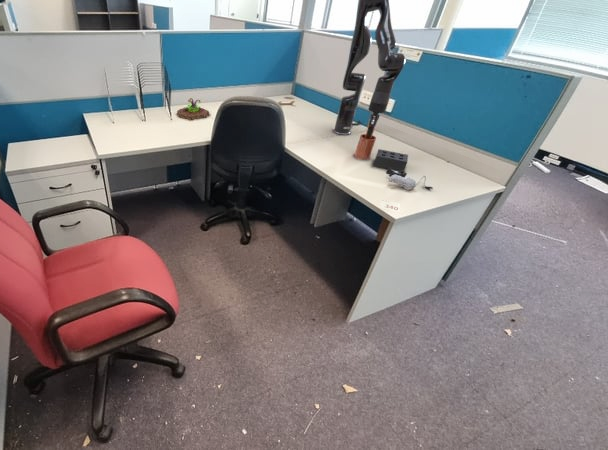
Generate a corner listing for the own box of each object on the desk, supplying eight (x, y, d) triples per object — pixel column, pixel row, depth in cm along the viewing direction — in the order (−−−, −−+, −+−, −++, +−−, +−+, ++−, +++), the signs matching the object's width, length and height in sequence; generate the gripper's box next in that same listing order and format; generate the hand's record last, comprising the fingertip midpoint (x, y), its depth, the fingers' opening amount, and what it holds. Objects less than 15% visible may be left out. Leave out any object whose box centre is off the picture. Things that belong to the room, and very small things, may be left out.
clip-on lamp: (421, 188, 151) (383, 174, 152) (430, 176, 147) (390, 162, 149) (429, 199, 141) (388, 184, 142) (438, 186, 137) (396, 171, 139)
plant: (171, 114, 222) (171, 97, 216) (193, 108, 233) (193, 92, 227) (191, 121, 211) (190, 103, 204) (213, 115, 221) (213, 98, 215)
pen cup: (355, 153, 175) (361, 133, 168) (370, 156, 172) (376, 135, 165) (353, 158, 169) (359, 137, 163) (368, 161, 167) (375, 140, 160)
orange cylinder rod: (362, 146, 169) (369, 122, 162) (368, 147, 168) (376, 123, 161) (361, 148, 167) (368, 124, 160) (367, 149, 166) (375, 125, 159)
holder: (374, 160, 168) (378, 149, 165) (403, 166, 163) (408, 154, 160) (372, 167, 161) (376, 155, 158) (402, 173, 156) (407, 162, 153)
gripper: (372, 96, 160) (362, 130, 171) (369, 103, 150) (358, 139, 160) (389, 98, 158) (378, 133, 168) (387, 105, 148) (375, 142, 158)
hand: (368, 136), depth 164 cm, fingers closed on orange cylinder rod, 3 cm apart
